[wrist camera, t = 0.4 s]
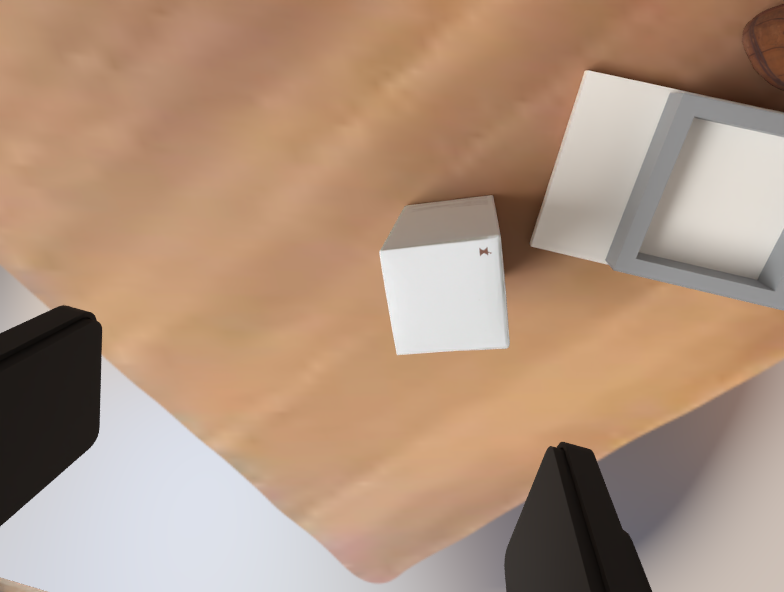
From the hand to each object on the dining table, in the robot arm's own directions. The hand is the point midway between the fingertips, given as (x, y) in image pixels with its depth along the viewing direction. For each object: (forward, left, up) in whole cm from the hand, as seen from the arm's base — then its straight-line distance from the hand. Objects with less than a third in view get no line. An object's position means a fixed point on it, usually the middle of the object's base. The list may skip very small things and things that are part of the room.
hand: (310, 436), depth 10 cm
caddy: (-3, +19, -33) cm, 38 cm away
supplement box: (+5, +3, -33) cm, 34 cm away
